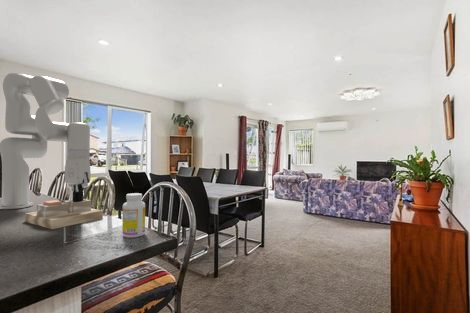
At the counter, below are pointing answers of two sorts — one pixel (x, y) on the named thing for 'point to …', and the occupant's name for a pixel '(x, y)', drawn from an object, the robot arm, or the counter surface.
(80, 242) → the counter surface
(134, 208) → the supplement bottle
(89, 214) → the key panel
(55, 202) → the terracotta key
